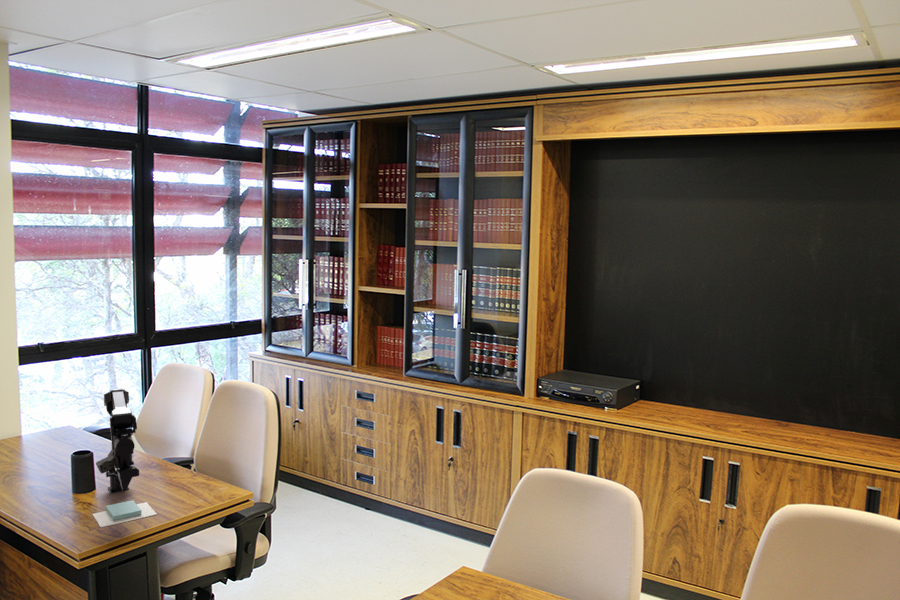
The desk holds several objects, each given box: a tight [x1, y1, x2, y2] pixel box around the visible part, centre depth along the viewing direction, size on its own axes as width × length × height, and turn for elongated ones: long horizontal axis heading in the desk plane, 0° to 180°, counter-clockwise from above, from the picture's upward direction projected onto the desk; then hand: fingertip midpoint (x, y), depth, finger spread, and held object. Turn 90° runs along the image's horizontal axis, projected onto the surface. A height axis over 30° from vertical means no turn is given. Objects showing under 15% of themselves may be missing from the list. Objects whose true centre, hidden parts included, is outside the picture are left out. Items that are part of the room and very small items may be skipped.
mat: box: [92, 501, 158, 528], centre depth 236 cm, size 14×18×1 cm
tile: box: [105, 500, 141, 520], centre depth 237 cm, size 2×9×12 cm
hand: (124, 490), depth 235 cm, fingers closed
